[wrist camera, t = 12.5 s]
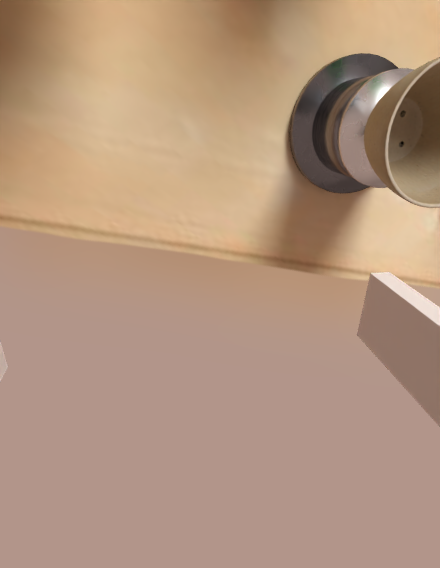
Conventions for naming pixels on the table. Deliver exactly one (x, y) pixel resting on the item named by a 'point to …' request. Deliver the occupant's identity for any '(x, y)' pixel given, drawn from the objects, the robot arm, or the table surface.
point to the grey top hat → (340, 121)
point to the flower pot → (408, 136)
